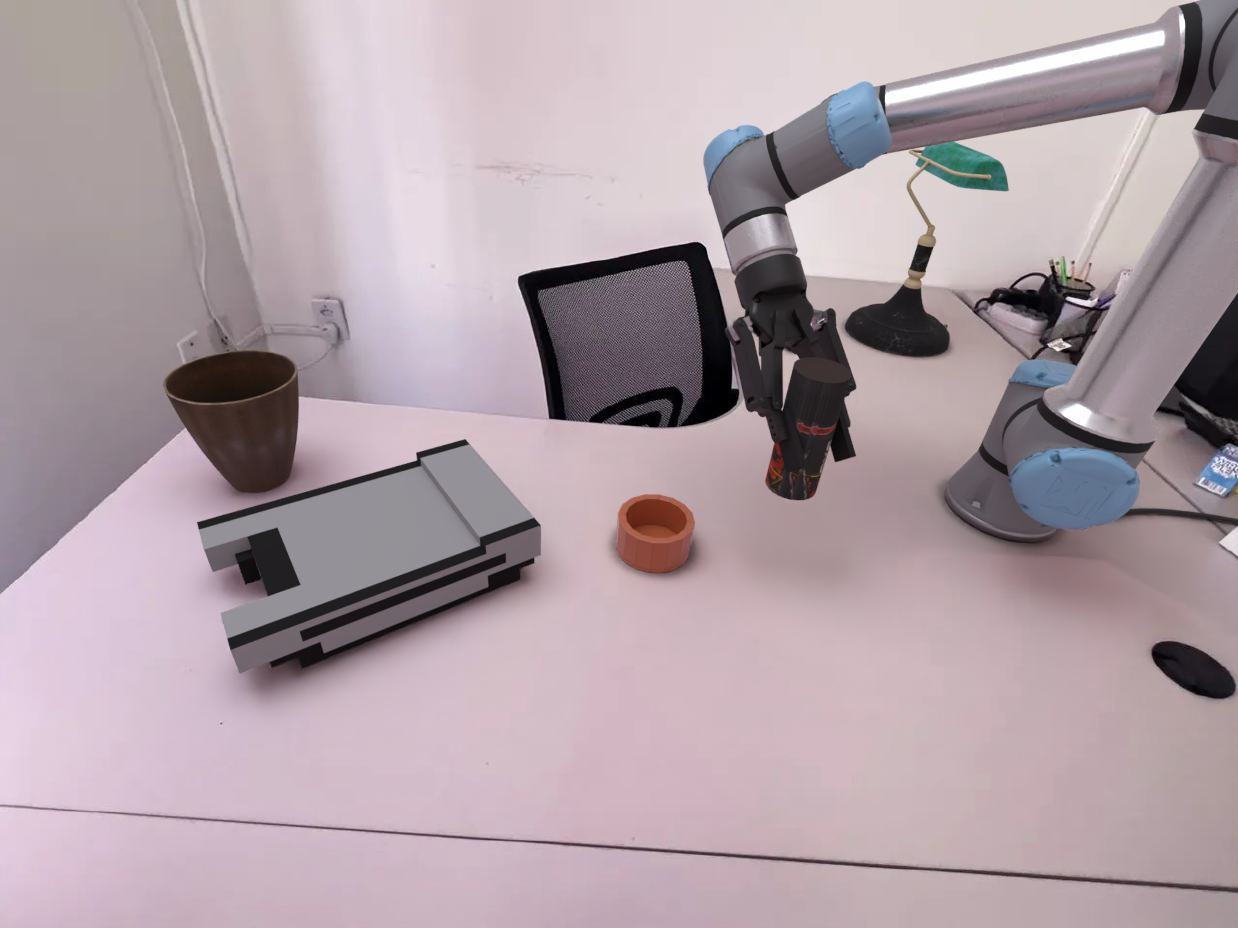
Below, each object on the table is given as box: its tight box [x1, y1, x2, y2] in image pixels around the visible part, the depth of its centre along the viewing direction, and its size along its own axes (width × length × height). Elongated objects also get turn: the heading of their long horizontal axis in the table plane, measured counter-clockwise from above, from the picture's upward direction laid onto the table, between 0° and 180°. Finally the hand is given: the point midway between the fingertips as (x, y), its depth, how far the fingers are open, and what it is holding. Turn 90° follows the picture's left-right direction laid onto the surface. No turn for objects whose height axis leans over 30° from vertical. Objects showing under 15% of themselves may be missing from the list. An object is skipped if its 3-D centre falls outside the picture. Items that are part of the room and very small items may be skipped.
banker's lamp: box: [844, 141, 1010, 358], centre depth 139 cm, size 26×23×40 cm
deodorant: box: [764, 357, 851, 501], centre depth 72 cm, size 6×6×15 cm
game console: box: [196, 438, 542, 674], centre depth 75 cm, size 21×32×8 cm, turn 125°
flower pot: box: [162, 349, 300, 494], centre depth 87 cm, size 15×15×16 cm
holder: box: [615, 493, 696, 574], centre depth 83 cm, size 10×10×5 cm
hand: (821, 464), depth 71 cm, fingers closed on deodorant, 6 cm apart
